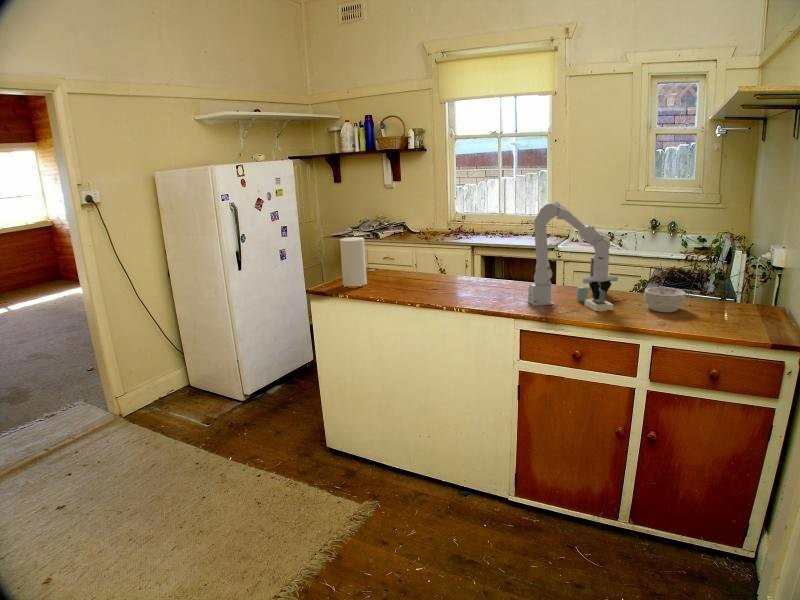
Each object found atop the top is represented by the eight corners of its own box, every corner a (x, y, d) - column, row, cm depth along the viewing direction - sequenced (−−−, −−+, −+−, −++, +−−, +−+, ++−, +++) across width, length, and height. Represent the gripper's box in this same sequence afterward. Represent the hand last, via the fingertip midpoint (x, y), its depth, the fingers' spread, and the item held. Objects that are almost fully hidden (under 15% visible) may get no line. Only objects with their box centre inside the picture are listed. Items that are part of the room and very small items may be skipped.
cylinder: (368, 287, 273) (365, 239, 266) (344, 289, 270) (341, 241, 263) (364, 282, 284) (361, 236, 278) (341, 284, 282) (338, 238, 275)
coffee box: (606, 296, 238) (608, 261, 234) (591, 296, 240) (593, 261, 235) (603, 291, 247) (605, 257, 243) (588, 291, 248) (590, 257, 244)
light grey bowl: (677, 304, 222) (679, 286, 220) (689, 315, 207) (691, 296, 205) (639, 304, 225) (640, 286, 223) (647, 314, 211) (649, 295, 208)
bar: (598, 309, 219) (599, 291, 217) (592, 306, 224) (593, 288, 222) (604, 309, 220) (605, 290, 218) (598, 306, 224) (599, 287, 222)
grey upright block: (579, 302, 231) (580, 289, 229) (574, 299, 235) (575, 286, 234) (589, 301, 231) (589, 288, 230) (584, 299, 236) (585, 286, 234)
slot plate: (595, 311, 217) (596, 305, 216) (584, 305, 226) (584, 299, 226) (612, 310, 218) (613, 304, 217) (600, 303, 227) (601, 298, 226)
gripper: (589, 270, 213) (587, 302, 216) (622, 267, 214) (620, 299, 218) (580, 266, 219) (579, 298, 223) (613, 264, 221) (611, 295, 225)
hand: (599, 298), depth 221 cm, fingers closed on bar, 2 cm apart
